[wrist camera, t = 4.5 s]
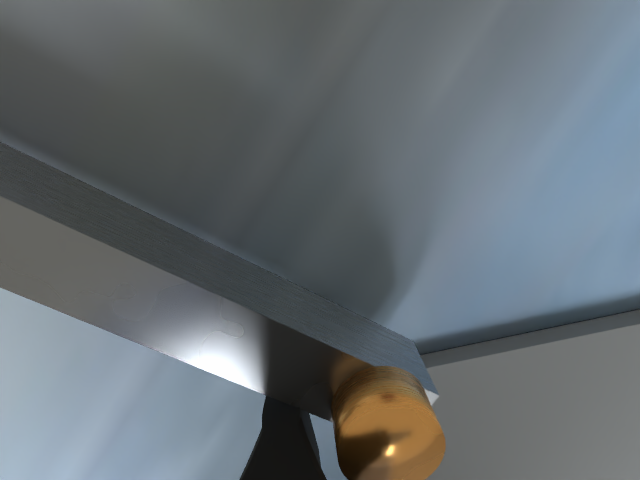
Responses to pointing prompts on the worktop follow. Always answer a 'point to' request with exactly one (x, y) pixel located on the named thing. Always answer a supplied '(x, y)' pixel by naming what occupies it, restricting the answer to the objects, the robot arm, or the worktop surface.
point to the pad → (542, 404)
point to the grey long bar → (218, 316)
